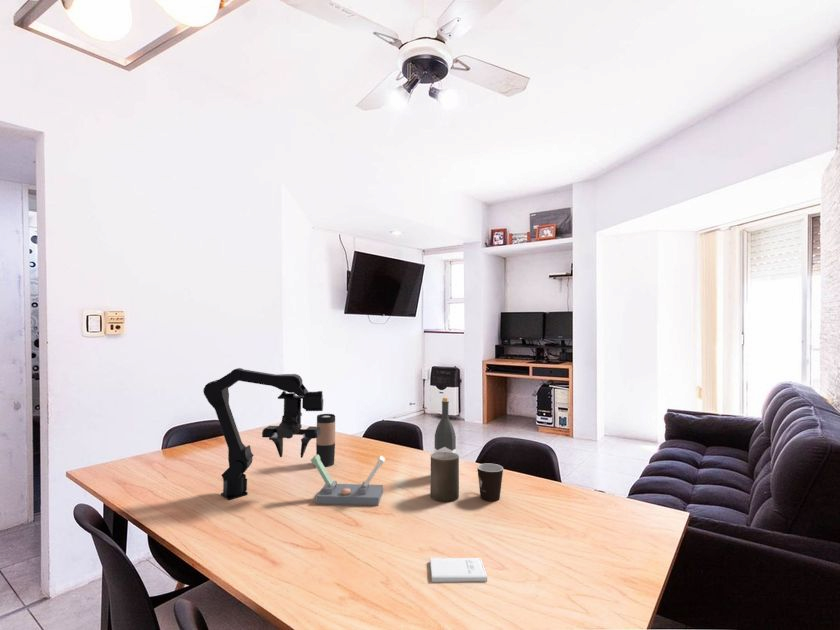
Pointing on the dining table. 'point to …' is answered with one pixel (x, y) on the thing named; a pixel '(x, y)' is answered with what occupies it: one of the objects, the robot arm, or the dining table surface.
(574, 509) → the dining table surface
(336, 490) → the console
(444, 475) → the pillar candle
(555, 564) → the dining table surface
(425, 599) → the dining table surface
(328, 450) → the travel mug
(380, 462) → the ivory lever
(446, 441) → the wine bottle
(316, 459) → the green lever
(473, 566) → the external hard drive
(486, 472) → the coffee mug
